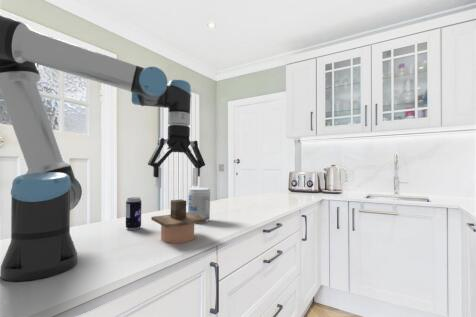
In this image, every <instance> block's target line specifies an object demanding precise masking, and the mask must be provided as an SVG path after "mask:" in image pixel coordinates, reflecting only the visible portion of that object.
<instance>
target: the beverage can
mask: <svg viewBox="0 0 476 317" xmlns="http://www.w3.org/2000/svg"><path fill="white" fill-rule="evenodd" d="M141 227H142V200H141V197H139V196H138V197H137V196H136V197H135V196H134V197H133V196H132V197H127V198H126V200H125V228H126V229H127V230H130V231H136V230H139V229H140V228H141Z"/></svg>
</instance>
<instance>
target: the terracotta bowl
mask: <svg viewBox="0 0 476 317" xmlns="http://www.w3.org/2000/svg"><path fill="white" fill-rule="evenodd" d="M160 233H161V234H160V240H161V241H163V242H164V243H171V244H176V243H179V244H180V243H185V242H190V241H192V240H194V239H195V224H189V225H182V226H176V227H169V228H166V227H164V226H162V225H160Z"/></svg>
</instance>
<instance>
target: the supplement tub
mask: <svg viewBox="0 0 476 317" xmlns="http://www.w3.org/2000/svg"><path fill="white" fill-rule="evenodd" d="M187 199H188V200H187V201H188V203H187V209H188V210H187V212H188V213H191V214H194V215H196V216H199V217H202V218H205V219H206V222H202V223H201V224H206V223H207V222H209V221H210V218H211V216H210V214H211V213H210V211H211V188H209V187H200V186H195V187H190V188H189V189H188V198H187Z"/></svg>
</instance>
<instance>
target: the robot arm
mask: <svg viewBox="0 0 476 317" xmlns="http://www.w3.org/2000/svg"><path fill="white" fill-rule="evenodd" d="M39 66H43V67H45V68H46V67H47V68H50V69H53V70H56V71H59V72H63V73H67V74H70V75H74V76H77V77H80V78H83V79H86V80H90V81H93V82H98V83H101V84H103V85H108V86H111V87H114V88H118V89H122V90H124V91H127V92H130V93H131V103H132V104H133V105H135V106H141V107H153V108H155V107H156V108H164V109H165V108H167V109H168V111H167V112H168V114H167V124H168V126H167V139H165V138H164V137H161V138H160V137H159V138H158V140H157V145H156V147H155V149H154V151H153V153H152V154H151V157H150V158H149V160H148V162H147V166H150V167H153V172H152V174H153V175H152V176H153V178H155V188H158V189H159V188H162V167H160V166H161V165H162V164H164V161H166V159H167V158H168V157H169V156H170V154H172V153H182V154H183V153H184V154H185V156H186V157H187V158H188V160H189V161H190V163H192V165H193V166H194V167H192V183H191V184H192V186H194V187H199V177H200V176H201V169H202V167H205V166H206V163H205V160H204V158H203V156H202V153H201V150H200V149H199V145H198V143H199V142H198V140H190V135H191V134H190V133H191V128H190V125H191V98H192V97H191V96H192V93H191V92H192V91H191V88H192V87H191V84H190V83H189V82H188V81H186V80H184V79H183V80H182V79H171V80H169V81H168V77H167V75H166V73H165V72H164V71H163V70H162V69H161V68H159V67H156V66H147V67H142V66H140V65H139V66H138V65H135V64H132V63H129V62H127V61H124V60H121V59H118V58H115V57H112V56H109V55H106V54H104V53H101V52H97V51H94V50H91V49H88V48H86V47H82V46H79V45H76V44H74V43H71V42H68V41H66V40H62V39H59V38H55V37H53V36H50V35H47V34H44V33H41V32H38V31H35V30H33V29H31V27H30V26H29V25H28V24H27V23H25V22H22V21H19V20H17V19H13V18H11V17H8V16H4V15H2V14H0V94H1V97H2V101H3V102H4V103H3V104H4V105H5V108H6V112H7V114H8V117H9V119H10V122H11V125H12V128H13V131H14V134H15V137H16V139H17V142H18V144H19V147H20V151H21V153H22V156H23V158H24V161H25V165H26V167H27V171H26V172H25V173H24V174H21V175H18V176H16V177H15V178H14V179H13V181H12V182H11V183H12V184H11V186H12V187H11V188H10V195H11V204H10V205H11V211H10V214H11V215H10V216H11V221H10V224H11V226H10V232H11V233H10V243H9V245H8V248H7V251H6V253H5V255H4V257H3V259H2V262H1V265H0V278H1V279H2V280H3V281H8V282H27V281H33V280H39V279H44V278H48V277H52V276H55V275H58V274H61V273H64V272H66V271H68V270H70V269H72V268H73V267H75V266H76V265H77V263H78V252H77V249H76V247H75V244H74V241H73V238H72V236H71V232H70V231H71V230H70V229H71V210H73V209H75V208H76V207H77V206H78V204H79V202H80V200H81V198H82V195H83V194H82V192H83V190H82V184H81V183H80V182H79V181H78V179H77V178H76V177H75V174H74V171H73V169H72V168H73V167H72V165H71V164H70V163H67V162H65V161H64V160H63V157H62V154H61V152H60V148H59V145H58V143H57V140H56V137H55V133H54V131H53V128H52V124H51V122H50V119H49V116H48V114H47V111H46V108H45V104H44V101H43V99H42V96H41V93H40V90H39V88H38V82H39V81H40V80H41V75H40V72H39ZM165 145H167V146H168V147H167V148H165V151H164V152H163V153H162V154H161V155H160V153H161V152H162V150H163V148H164V146H165ZM189 146H191V148H192V150H191V149H190V148H189ZM192 151H193V152H192ZM159 155H160V156H159ZM158 157H159V158H158Z"/></svg>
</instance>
